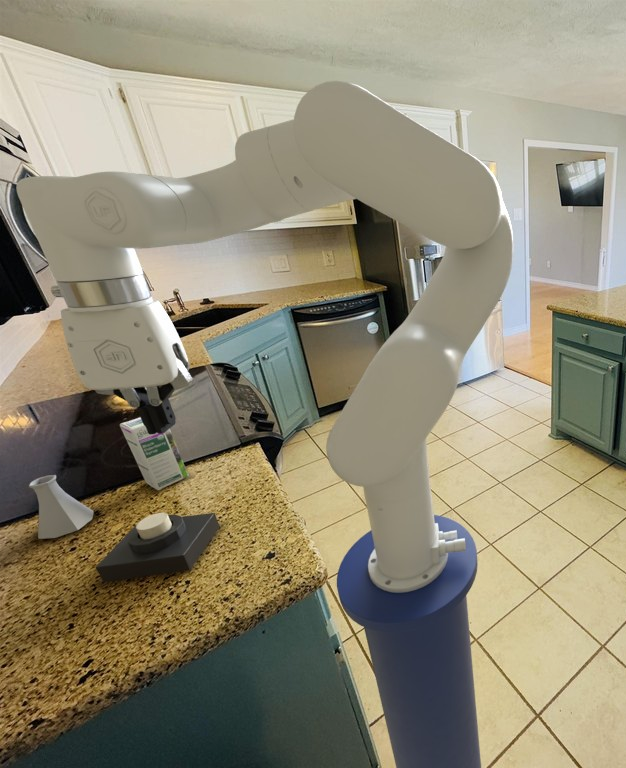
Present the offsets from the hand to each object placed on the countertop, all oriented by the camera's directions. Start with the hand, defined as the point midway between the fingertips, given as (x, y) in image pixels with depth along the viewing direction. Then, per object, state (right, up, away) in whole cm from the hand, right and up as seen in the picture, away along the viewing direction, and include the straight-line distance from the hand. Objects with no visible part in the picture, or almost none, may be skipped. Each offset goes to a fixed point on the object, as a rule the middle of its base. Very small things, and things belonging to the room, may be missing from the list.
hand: (163, 428), depth 55 cm
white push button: (-10, -18, +11) cm, 23 cm away
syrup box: (-26, -15, +32) cm, 44 cm away
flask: (-34, -20, +19) cm, 44 cm away
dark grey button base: (-10, -22, +13) cm, 27 cm away
